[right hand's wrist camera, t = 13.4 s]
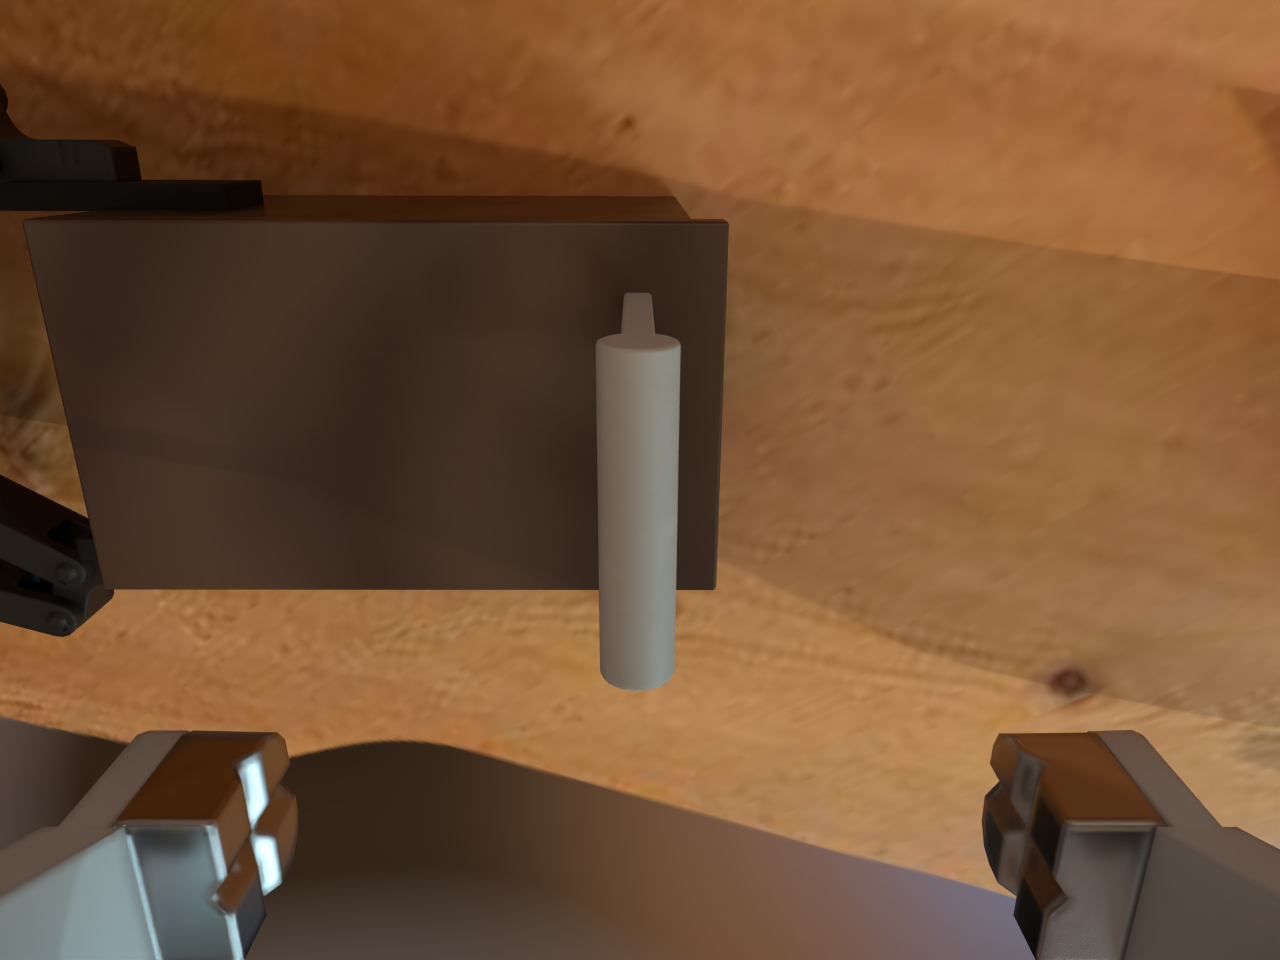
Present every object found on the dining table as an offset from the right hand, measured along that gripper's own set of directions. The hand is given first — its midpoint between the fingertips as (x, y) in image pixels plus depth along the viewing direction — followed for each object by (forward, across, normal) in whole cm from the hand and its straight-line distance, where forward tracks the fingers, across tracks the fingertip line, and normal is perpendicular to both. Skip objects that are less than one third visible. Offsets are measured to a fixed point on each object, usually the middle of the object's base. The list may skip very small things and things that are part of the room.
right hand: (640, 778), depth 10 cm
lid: (+16, +7, 0) cm, 17 cm away
